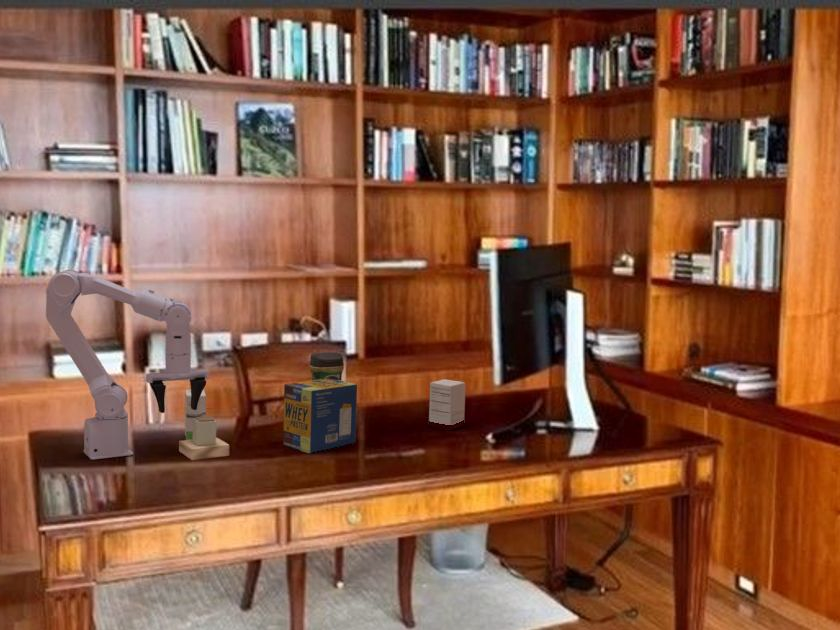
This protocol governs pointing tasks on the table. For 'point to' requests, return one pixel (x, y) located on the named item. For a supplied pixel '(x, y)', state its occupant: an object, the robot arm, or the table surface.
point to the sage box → (204, 430)
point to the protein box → (319, 414)
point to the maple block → (203, 449)
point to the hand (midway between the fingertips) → (178, 410)
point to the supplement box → (447, 402)
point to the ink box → (193, 412)
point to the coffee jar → (326, 365)
